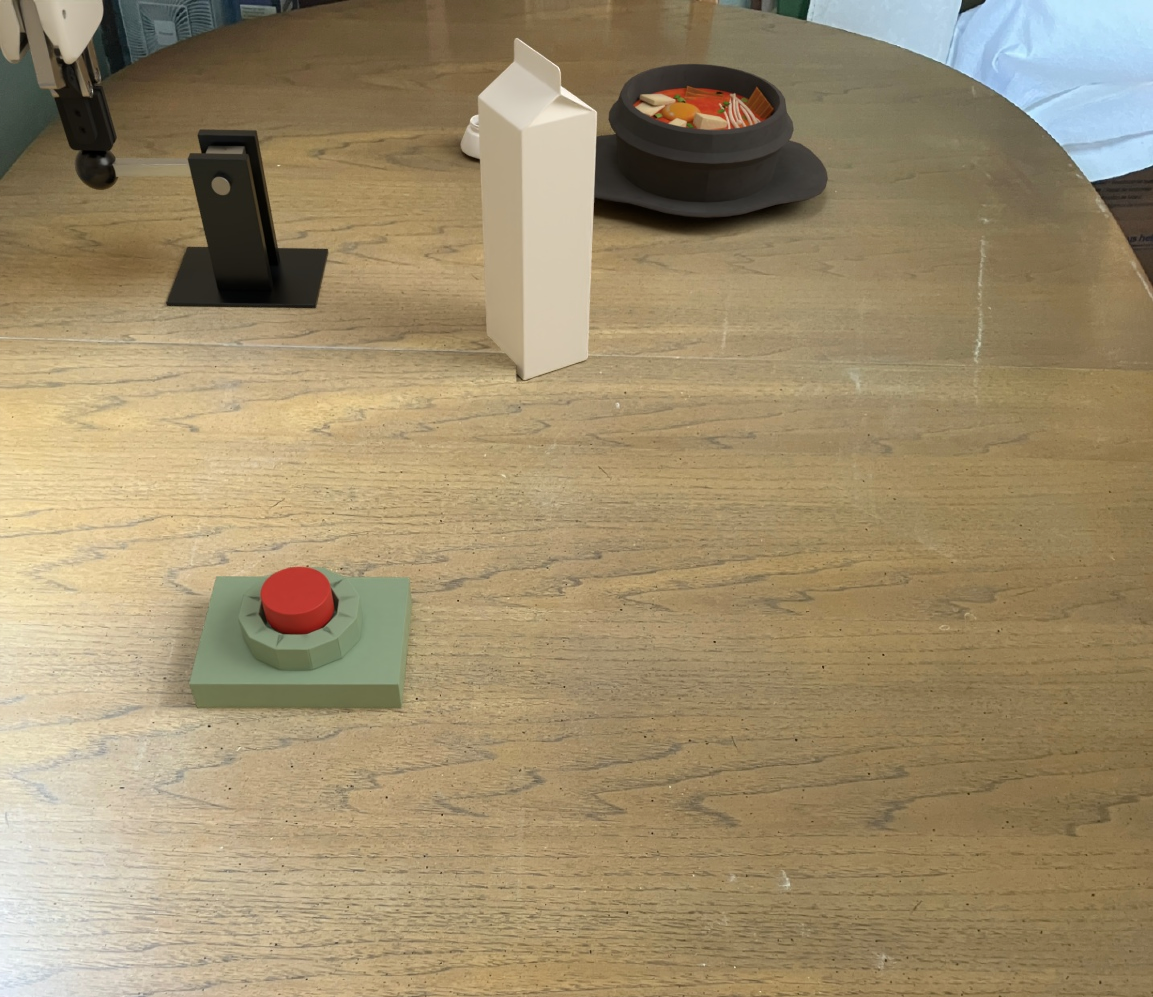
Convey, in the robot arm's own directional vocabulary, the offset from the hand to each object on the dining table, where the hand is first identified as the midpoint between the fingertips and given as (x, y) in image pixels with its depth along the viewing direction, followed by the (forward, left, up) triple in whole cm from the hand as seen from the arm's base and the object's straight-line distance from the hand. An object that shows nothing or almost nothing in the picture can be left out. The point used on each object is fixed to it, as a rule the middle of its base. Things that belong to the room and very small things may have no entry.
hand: (94, 144), depth 88 cm
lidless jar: (+29, +26, -12) cm, 40 cm away
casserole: (+49, +19, -12) cm, 54 cm away
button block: (+20, -42, -12) cm, 48 cm away
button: (+20, -42, -8) cm, 47 cm away
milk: (+34, -9, -12) cm, 37 cm away
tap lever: (+5, 0, -3) cm, 6 cm away
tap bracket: (+10, 0, -12) cm, 15 cm away
